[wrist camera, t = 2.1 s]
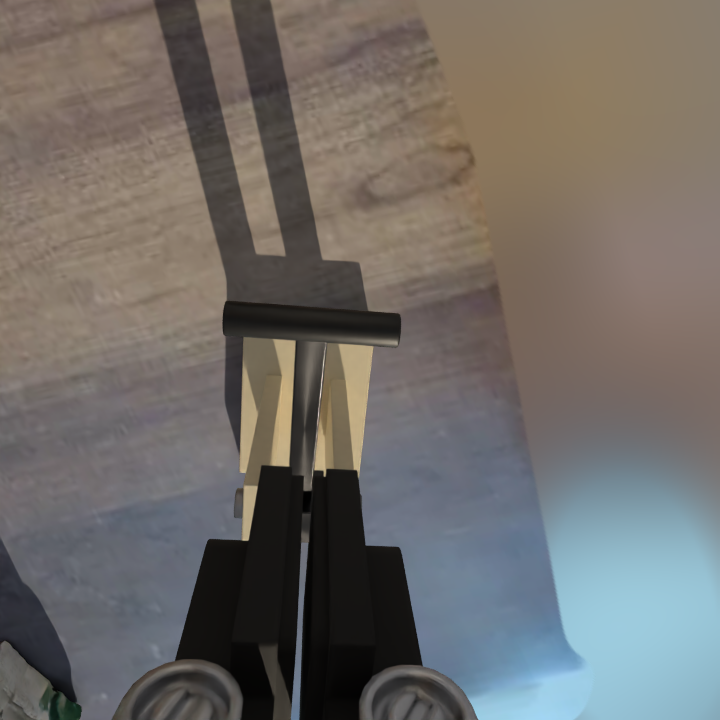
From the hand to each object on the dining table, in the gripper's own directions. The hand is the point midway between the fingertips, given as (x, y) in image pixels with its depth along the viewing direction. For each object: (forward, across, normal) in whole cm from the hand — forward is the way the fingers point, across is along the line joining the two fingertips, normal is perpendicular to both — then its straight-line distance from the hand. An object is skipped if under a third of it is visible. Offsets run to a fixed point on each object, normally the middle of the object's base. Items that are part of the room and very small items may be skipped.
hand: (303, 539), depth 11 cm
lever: (+15, 0, +5) cm, 16 cm away
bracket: (+29, 0, +10) cm, 31 cm away
